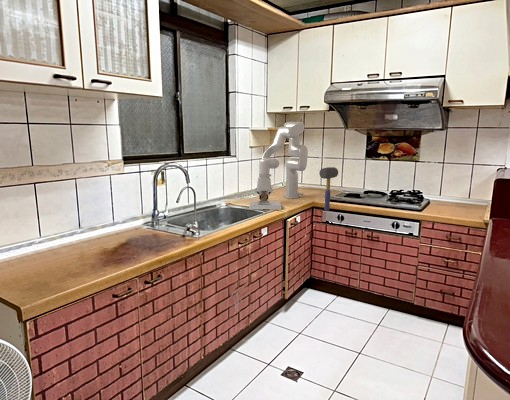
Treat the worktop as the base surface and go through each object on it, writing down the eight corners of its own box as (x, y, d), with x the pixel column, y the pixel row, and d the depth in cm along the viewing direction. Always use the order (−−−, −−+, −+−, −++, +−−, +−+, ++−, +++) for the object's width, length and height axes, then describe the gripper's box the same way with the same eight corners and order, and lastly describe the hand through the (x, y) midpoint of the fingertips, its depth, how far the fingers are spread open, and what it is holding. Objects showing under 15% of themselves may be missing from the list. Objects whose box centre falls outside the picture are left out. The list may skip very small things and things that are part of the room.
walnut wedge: (266, 202, 271) (266, 190, 269) (266, 203, 267) (266, 191, 265) (260, 202, 271) (261, 190, 269) (261, 203, 267) (261, 191, 265)
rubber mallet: (324, 213, 240) (327, 168, 234) (316, 211, 246) (318, 167, 240) (336, 210, 248) (339, 167, 242) (328, 208, 254) (330, 166, 248)
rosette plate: (279, 205, 263) (279, 201, 262) (281, 209, 249) (281, 205, 248) (249, 205, 262) (249, 200, 261) (249, 209, 248) (249, 205, 247)
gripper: (275, 175, 269) (274, 199, 273) (252, 175, 268) (252, 199, 272) (276, 176, 262) (275, 201, 265) (253, 176, 261) (252, 201, 265)
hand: (263, 200), depth 269 cm, fingers closed on walnut wedge, 4 cm apart
